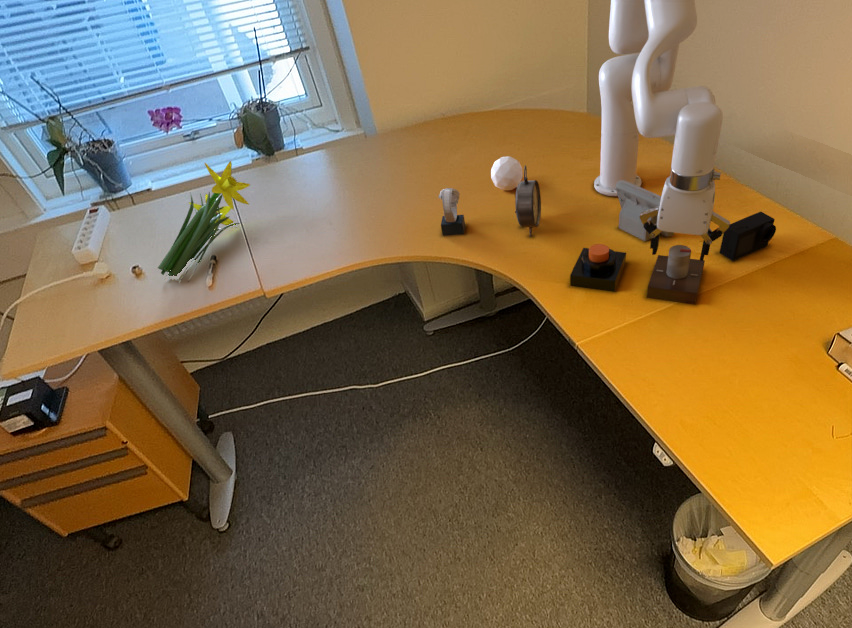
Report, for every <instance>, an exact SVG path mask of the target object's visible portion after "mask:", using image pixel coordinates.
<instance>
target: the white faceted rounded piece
mask: <svg viewBox="0 0 852 628" xmlns="http://www.w3.org/2000/svg"><path fill="white" fill-rule="evenodd" d="M490 178H491V181H492V182H493V185H494V186H495V187H496V188H498V189H500V190H502V191H513V190H514V189H517V186H518V184H519V183H520V182H521V181H523V179H524V172H523V167H522V165H521V163H520V161H519V160H518V159H516V158H514V157H512V156H510V155H508V156H507V155H506V156H501V157H499V158H498V159H496V160H495V161H494V162H493V165H492V167H491V169H490Z"/></svg>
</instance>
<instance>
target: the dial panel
mask: <svg viewBox="0 0 852 628" xmlns="http://www.w3.org/2000/svg"><path fill="white" fill-rule="evenodd" d="M705 261H706V260H705V259H704V260H703V261H701V260H700V259H697V258H690V262H689V268H688V274H687V276H686V277H684V278H682V279H673V278H670V277H669V276H668V275H667V274H666V270H667V263H668V255H662V254H658V255H657V257H656V261H655V263H654V267H653V269H652V273H651V275H650V279H649V281H648V285H647V290H646V299H653V300H659V301H666V302H671V303H672V302H673V303H680V304H686V305H696V302H697V298H698V294H699V290H700V285H701V282H702V281H701V280H702V276H703V272H704V268H705Z"/></svg>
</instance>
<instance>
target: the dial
mask: <svg viewBox="0 0 852 628" xmlns="http://www.w3.org/2000/svg"><path fill="white" fill-rule="evenodd" d="M667 256H668V263H667V270H666V274H667V275H668V276H669V277H670V278H673V279H682V278H684V277H686V276H687V274H688V268H689V262H690V259H691V256H692V249H691V248H690V247H689V246H687V245H683V244H676V245H673V246H671V247H669V249H668V254H667Z"/></svg>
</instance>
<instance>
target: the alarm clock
mask: <svg viewBox="0 0 852 628" xmlns="http://www.w3.org/2000/svg"><path fill="white" fill-rule="evenodd" d="M527 171H528V169H527V165H524V167H523V180H521V182H520V183H519V184H518V186H517V187H516V188H515V189H516V190H515V197H514V198H515V200H514V202H515V205H514V207H515V211H514V213H515V215H516V219H517V222H518V224H519V226H520V227H522V228H528V230H529V237H530V238H531V237H533V234H532V233H533V228H538V227H539V226H540V222H541V215H542V198H541V188H540V184H539V182H538V180H536V179H535V180H528V179H529V178H528V176H527V174H528V172H527Z"/></svg>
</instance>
